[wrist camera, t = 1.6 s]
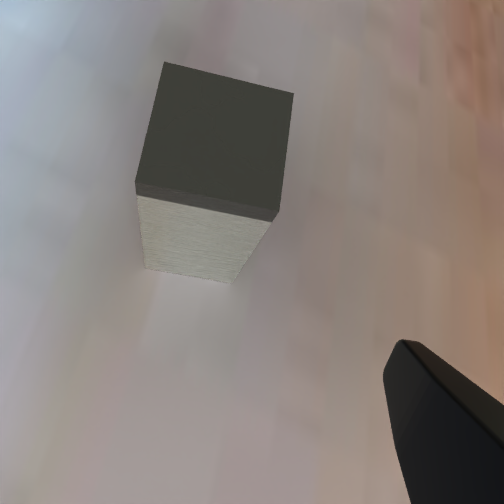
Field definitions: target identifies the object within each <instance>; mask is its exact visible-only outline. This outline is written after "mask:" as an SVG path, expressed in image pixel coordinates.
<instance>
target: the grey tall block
mask: <svg viewBox="0 0 504 504" xmlns="http://www.w3.org/2000/svg"><path fill="white" fill-rule="evenodd" d="M293 95H294V93H290V92H286V91H282V90H278V89H273V88H269V87H265V86H261V85H257V84H253V83H249V82H245V81H241V80H237V79H233V78H229V77H225V76H220V75H216V74H212V73H208V72H204V71H200V70H196V69H192V68H188V67H184V66H180V65H176V64H171V63H167V62H164V64H163V68H162V73H161V77H160V81H159V85H158V89H157V93H156V97H155V101H154V105H153V110H152V114H151V118H150V122H149V126H148V130H147V134H146V138H145V143H144V147H143V151H142V155H141V159H140V163H139V167H138V171H137V175H136V180H135V186H136V194H137V203H138V212H139V220H140V229H141V238H142V247H143V255H144V264H145V268H146V269H152V270H158V271H163V272H169V273H174V274H180V275H185V276H191V277H197V278H202V279H208V280H213V281H219V282H225V283H230V284H232V282H233V281H234V279H235V278H236V276H237V275H238V273H239V272H240V270H241V269H242V267H243V266H244V264H245V263H246V261H247V259H248V258H249V256H250V255H251V253H252V252H253V250H254V249H255V247H256V246H257V244H258V243H259V241H260V240H261V238H262V237H263V235H264V234H265V232H266V230H267V229H268V227H269V226H270V224H271V223H272V221H273V220H274V218H275V217H276V215H277V214H278V212H279V208H280V200H281V192H282V184H283V176H284V168H285V160H286V152H287V144H288V136H289V128H290V119H291V111H292V103H293Z"/></svg>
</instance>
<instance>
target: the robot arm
mask: <svg viewBox="0 0 504 504" xmlns="http://www.w3.org/2000/svg"><path fill="white" fill-rule="evenodd" d="M383 383H384V388H385V394H386V400H387V405H388V411H389V417H390V423H391V428H392V434H393V439H394V444H395V449H396V452H397V456H398V460H399V463H400V467H401V470H402V474H403V477H404V481H405V484H406V488H407V491H408V495H409V498H410V502H411V504H504V405H503V404H501V403H500V402H499V401H497V400H496V399H495V398H493V397H492V396H491V395H489V394H488V393H487V392H485V391H484V390H483V389H481V388H480V387H479V386H477V385H476V384H475V383H473V382H472V381H471V380H469V379H468V378H467V377H465V376H464V375H463V374H461V373H460V372H459V371H457V370H456V369H455V368H453V367H452V366H451V365H449V364H448V363H447V362H445V361H444V360H443V359H441V358H440V357H439V356H437V355H436V354H435V353H433V352H432V351H431V350H429V349H428V348H427V347H425V346H424V345H423V344H421V343H420V342H417V341H411V340H404V339H401V340H399V341H398V342H397V343H396V345H395V347H394V349H393V351H392V353H391V355H390V357H389V359H388V362H387V364H386V366H385V368H384V372H383Z"/></svg>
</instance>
